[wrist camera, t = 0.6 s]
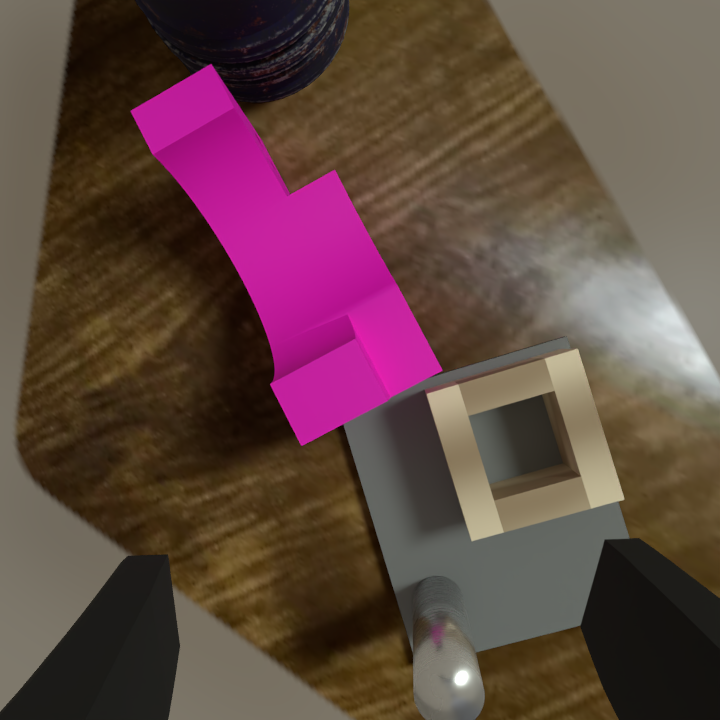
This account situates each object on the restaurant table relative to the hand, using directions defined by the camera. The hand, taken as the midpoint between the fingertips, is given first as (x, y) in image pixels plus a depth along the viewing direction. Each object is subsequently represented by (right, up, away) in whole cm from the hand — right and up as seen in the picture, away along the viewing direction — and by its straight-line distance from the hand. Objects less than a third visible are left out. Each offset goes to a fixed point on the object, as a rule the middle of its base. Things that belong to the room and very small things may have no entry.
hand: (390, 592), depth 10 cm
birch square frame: (+7, 0, +19) cm, 20 cm away
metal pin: (+3, -8, +20) cm, 22 cm away
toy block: (-3, +9, +20) cm, 22 cm away
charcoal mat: (+6, -3, +20) cm, 21 cm away
